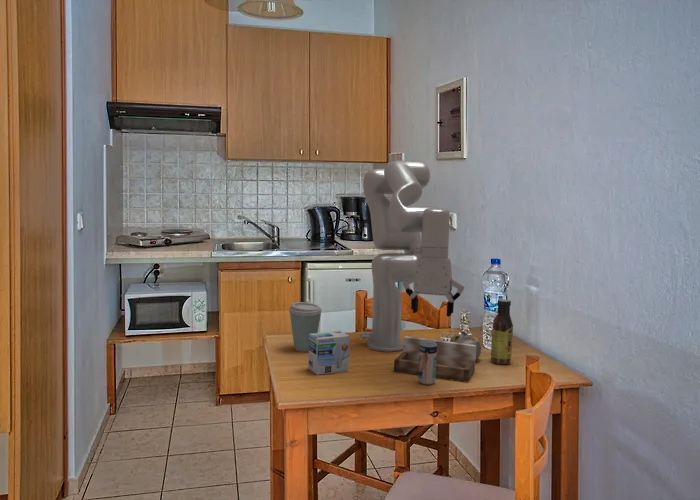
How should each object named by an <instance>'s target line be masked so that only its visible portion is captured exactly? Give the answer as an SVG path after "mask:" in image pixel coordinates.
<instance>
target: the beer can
mask: <svg viewBox="0 0 700 500" xmlns="http://www.w3.org/2000/svg"><path fill="white" fill-rule="evenodd" d="M423 339H424V340H422V341H421V343H420V351H419V371H418V375H417V381H418V382H419V383H420V384H422V385H426V386H427V385H428V386H429V385H433V384H434V383H435V382H436V377H435V374H436V355H437V344H436V342H435V341H434V340H435V339H431V340H430V338H423Z"/></svg>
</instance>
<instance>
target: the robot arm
mask: <svg viewBox="0 0 700 500" xmlns="http://www.w3.org/2000/svg"><path fill="white" fill-rule="evenodd" d="M430 178H431V173H430V169H429V167H428V164H426V163H425V162H423V161H421V160H420V161H419V160H401V159H400V160H398V159H397V160H392V161H390V162H389V163H387V164H386V166H385V167H384V168H373V169H369V170H368V171H366V173H364V176H363V180H362V182H363V184H362V185H363V186H362V189H363V195H364V198H365V201H366V203H367V206H368V209H369V213H370V220H371V221H370V222H371V233H372V240H373V245H374V246H375V248H376V249H377V250H381V251H403V252H401V253H399V252H385V253H380V254H377V255H375V256H374V257H373V259H372V261H371V266H370V267H371V274H372V275H371V277H372V284H373V285H372V287H373V288H372V289H373V293H372V294H373V295H372V320H371V321H372V323H371V324H372V325H371V326H372V327H371V331H369V332H368V331H360V338H361V339H367V342H366V347H367V348H369V349H371V350H373V351H379V352H399V351H401V350H402V351H403V345H404V341H401V328H402V327H401V324H402V323H401V322H402V321H401V320H402V306H403V305H402V302H403V300H402V299H403V296H402V295H403V294H402V293H401V291H400V289H399V287H397V285H396V283H400V282H401V283H402V286H403V288H404V290H405V292H406V294H407V295H408V296H409V298H410V299H411V304H410V310H412V314H416V313H417V312H418V311H419V298H418V295H421V294H422V295H433V296H445V297H446V299H447V300H448V301H447V302H446V317H449V318H450V317H451V316H452V314H453V313H454V309H455V308H454V307H455V306H454V305H455V301H456V300H457V299H458V298H459V297H460V296H461V295H462V293H463V291H464V290H465V286H464V285H462V284H461V283H459V282H457V281H456V280H454V279H453V272H452V263H451V258H450V257H449V241H450V239H449V237H450V219H451V218H450V216H451V215H450V211H449V210H448V209H446V208H440V207H437V206H422V205H413V204H415V203H417V202H418V201H419V200H420V199H421V197H422V195H423V189H424V188H426V186H428V184H429V182H430ZM385 195H392V196H391V198H390V199H389V198H387V197H386V196H385ZM410 284H413V289H412V288H411V287H410ZM453 287H454V288H456V289H457V291H456V293H455V294H453V293H452V290H453Z"/></svg>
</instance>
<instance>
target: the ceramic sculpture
mask: <svg viewBox="0 0 700 500" xmlns="http://www.w3.org/2000/svg"><path fill="white" fill-rule="evenodd" d="M449 342H455V343H463V344H471V345H476V359H475V361H477V360H478V359H479V358H480V357H481V353H482V351H481V350H482V347H481V343H480V341H479V340H472V338H471V336H470V334H468V333H466V331H462V332H461V334H455V335H452V337H451V338H450V340H449Z"/></svg>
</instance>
